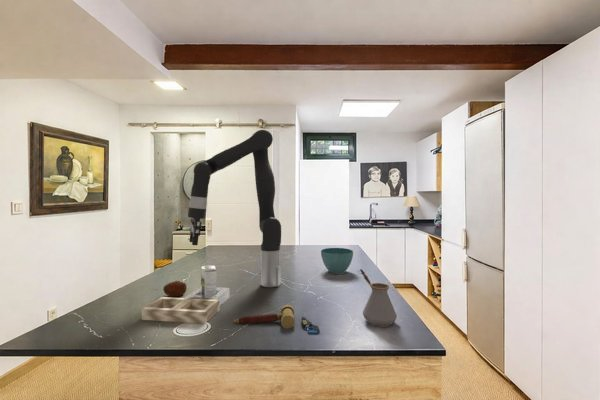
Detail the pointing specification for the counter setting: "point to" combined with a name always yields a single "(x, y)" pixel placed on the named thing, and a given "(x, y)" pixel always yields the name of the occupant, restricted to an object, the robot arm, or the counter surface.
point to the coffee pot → (378, 305)
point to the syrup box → (208, 280)
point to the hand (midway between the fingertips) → (193, 243)
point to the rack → (181, 310)
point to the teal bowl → (337, 259)
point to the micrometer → (309, 326)
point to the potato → (175, 288)
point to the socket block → (220, 295)
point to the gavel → (272, 318)
